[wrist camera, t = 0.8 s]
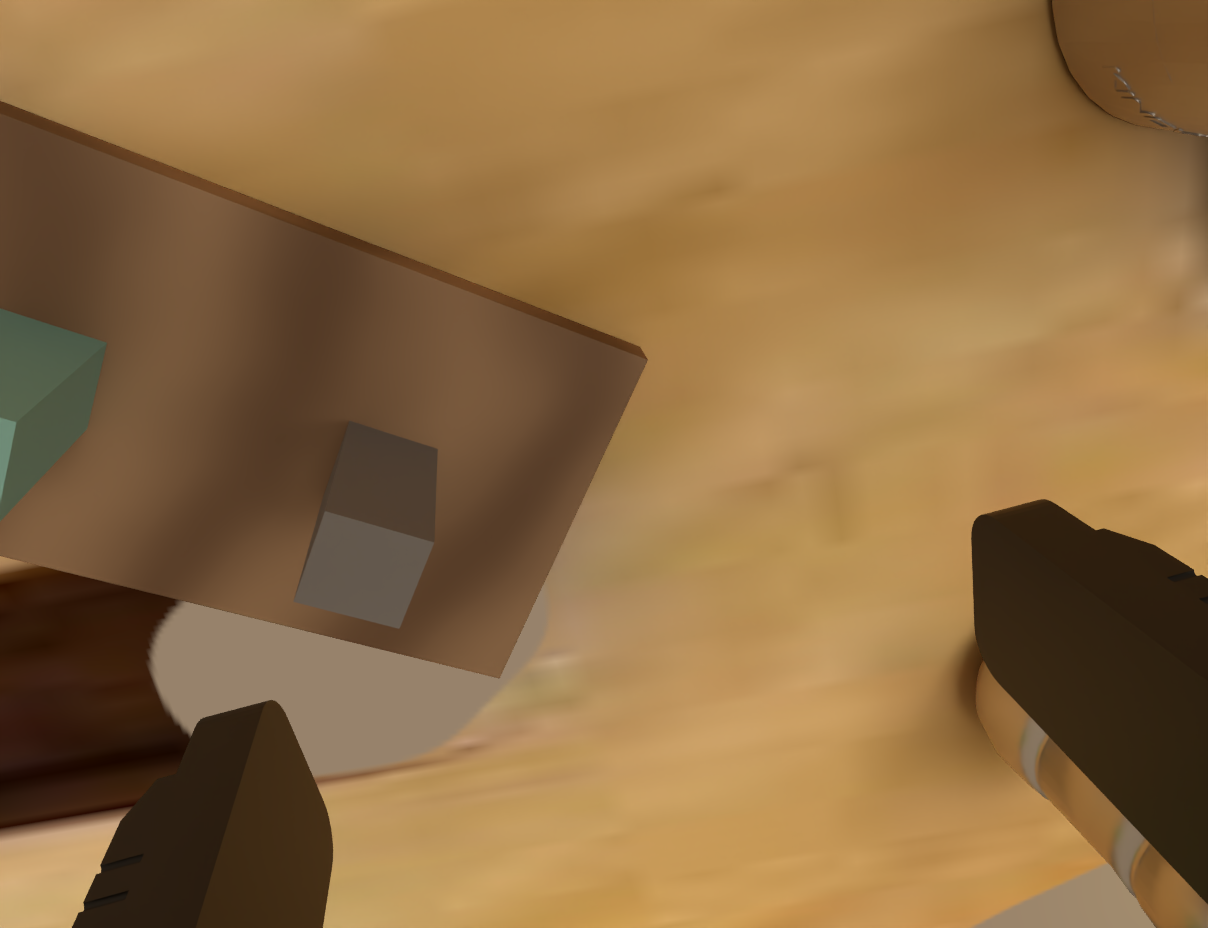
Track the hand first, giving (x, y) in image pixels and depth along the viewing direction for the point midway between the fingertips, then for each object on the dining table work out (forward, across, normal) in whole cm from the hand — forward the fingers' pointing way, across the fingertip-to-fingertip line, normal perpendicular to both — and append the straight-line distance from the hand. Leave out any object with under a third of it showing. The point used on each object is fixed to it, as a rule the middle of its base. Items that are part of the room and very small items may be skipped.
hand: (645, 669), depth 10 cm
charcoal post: (+16, +5, +3) cm, 17 cm away
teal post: (+16, +13, -2) cm, 21 cm away
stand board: (+18, +8, +1) cm, 19 cm away
